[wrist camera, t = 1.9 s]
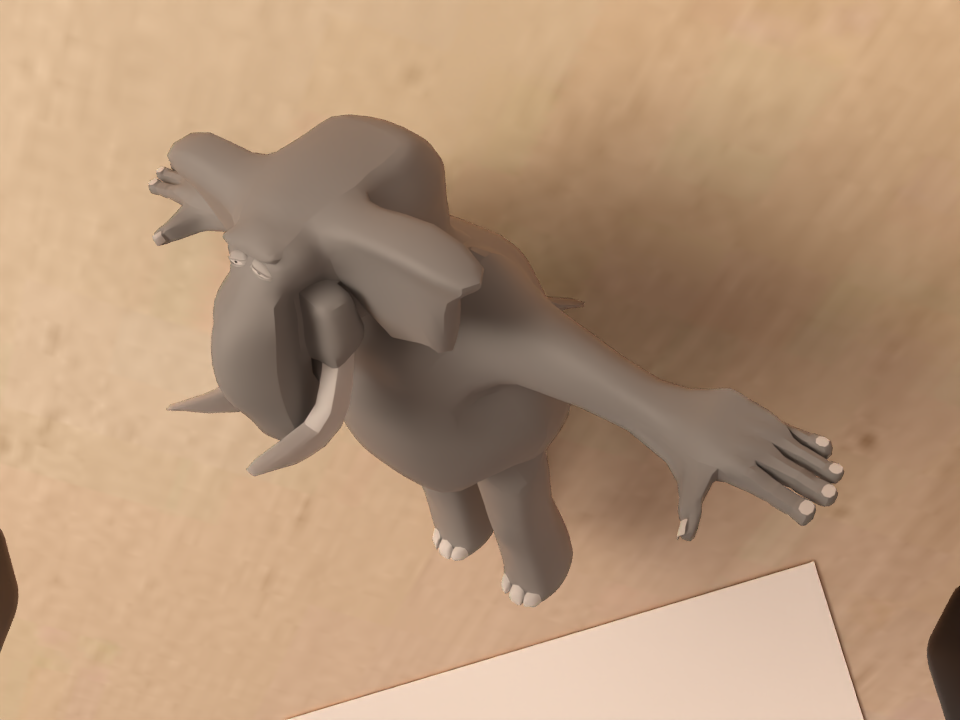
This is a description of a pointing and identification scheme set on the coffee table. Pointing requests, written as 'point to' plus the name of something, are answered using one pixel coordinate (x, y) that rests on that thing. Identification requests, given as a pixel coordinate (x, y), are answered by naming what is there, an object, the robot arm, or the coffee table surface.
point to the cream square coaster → (654, 667)
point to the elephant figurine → (438, 347)
